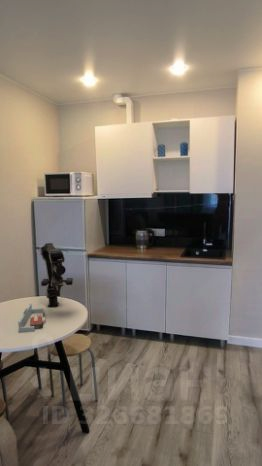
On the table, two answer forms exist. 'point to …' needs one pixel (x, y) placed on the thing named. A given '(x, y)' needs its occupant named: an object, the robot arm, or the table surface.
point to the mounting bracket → (25, 318)
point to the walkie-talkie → (38, 321)
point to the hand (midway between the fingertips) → (58, 295)
